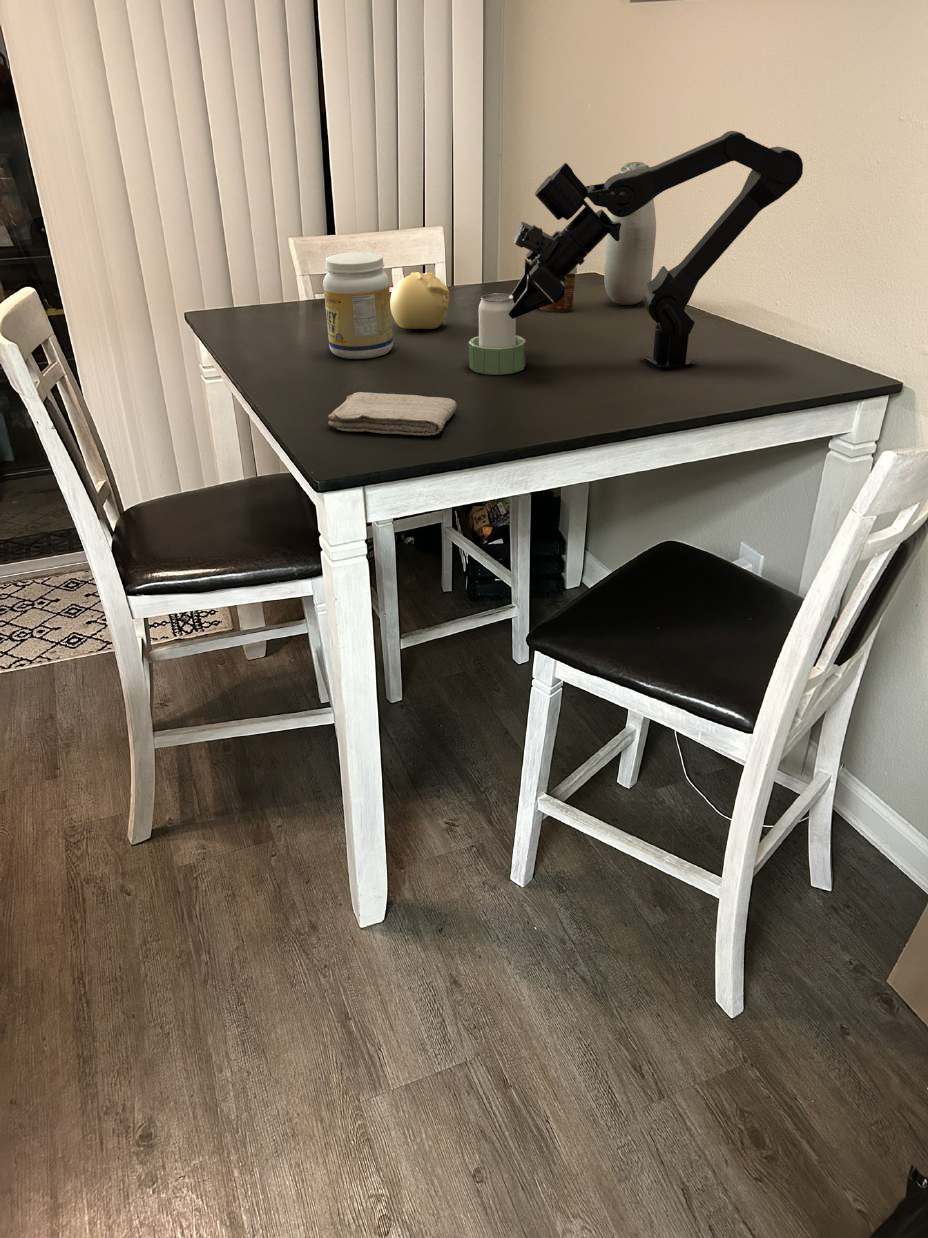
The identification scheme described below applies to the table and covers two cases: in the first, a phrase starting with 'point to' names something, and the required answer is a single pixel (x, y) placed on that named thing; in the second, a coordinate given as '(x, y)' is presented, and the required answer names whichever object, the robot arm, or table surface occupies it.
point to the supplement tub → (357, 305)
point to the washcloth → (393, 414)
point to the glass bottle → (631, 252)
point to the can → (496, 321)
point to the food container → (567, 299)
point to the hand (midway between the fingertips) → (509, 309)
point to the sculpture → (419, 301)
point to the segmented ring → (497, 358)
